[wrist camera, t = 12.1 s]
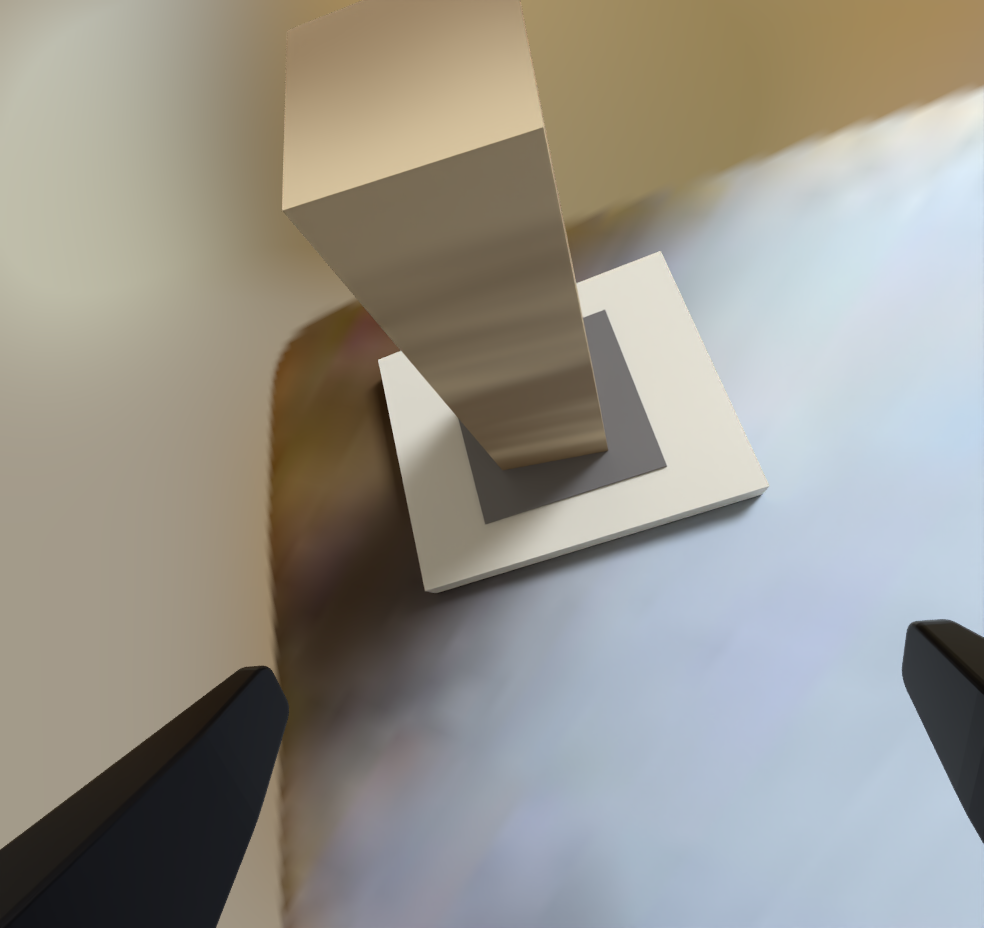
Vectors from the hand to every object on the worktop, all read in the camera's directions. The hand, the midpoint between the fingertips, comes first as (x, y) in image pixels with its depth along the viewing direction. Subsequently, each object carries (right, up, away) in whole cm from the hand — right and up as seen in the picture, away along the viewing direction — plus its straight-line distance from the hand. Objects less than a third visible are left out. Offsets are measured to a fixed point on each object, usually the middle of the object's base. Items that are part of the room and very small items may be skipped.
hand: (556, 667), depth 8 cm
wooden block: (+1, +5, +11) cm, 12 cm away
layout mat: (+1, +4, +12) cm, 12 cm away
